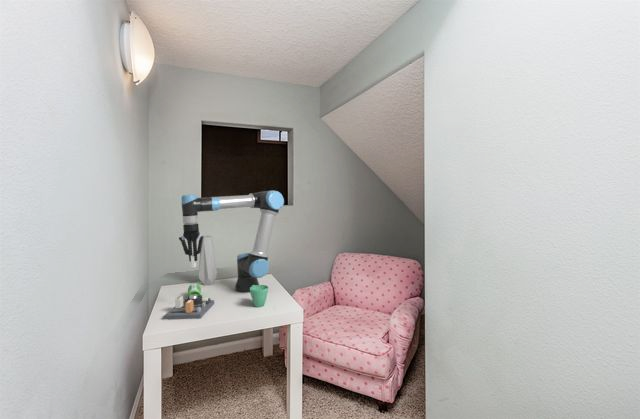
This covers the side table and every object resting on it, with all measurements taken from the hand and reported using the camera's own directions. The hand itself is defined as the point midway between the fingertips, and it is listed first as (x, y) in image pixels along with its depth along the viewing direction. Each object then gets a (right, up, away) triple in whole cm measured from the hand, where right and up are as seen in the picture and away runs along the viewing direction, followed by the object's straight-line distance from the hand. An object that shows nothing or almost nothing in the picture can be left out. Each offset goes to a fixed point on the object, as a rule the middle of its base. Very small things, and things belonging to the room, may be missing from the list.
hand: (193, 267), depth 166 cm
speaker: (-6, -22, +16) cm, 28 cm away
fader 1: (-6, -20, -4) cm, 22 cm away
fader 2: (+2, -20, -10) cm, 23 cm away
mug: (+34, -22, +4) cm, 40 cm away
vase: (-9, -21, +48) cm, 53 cm away
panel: (0, -23, -4) cm, 23 cm away
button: (-1, -20, +3) cm, 20 cm away
